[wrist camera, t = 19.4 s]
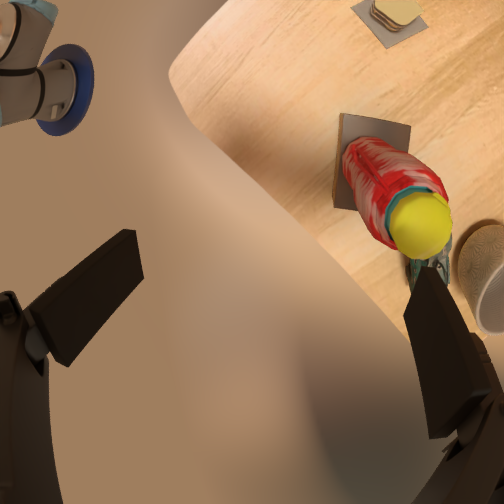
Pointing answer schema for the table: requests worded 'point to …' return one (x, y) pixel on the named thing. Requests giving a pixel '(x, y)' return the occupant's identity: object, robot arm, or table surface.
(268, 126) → the table surface
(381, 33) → the stacked layers on plate
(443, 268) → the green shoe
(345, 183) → the walnut stand
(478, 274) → the planter
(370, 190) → the water bottle
